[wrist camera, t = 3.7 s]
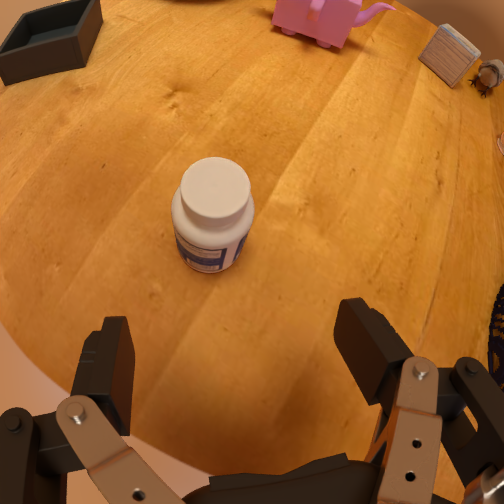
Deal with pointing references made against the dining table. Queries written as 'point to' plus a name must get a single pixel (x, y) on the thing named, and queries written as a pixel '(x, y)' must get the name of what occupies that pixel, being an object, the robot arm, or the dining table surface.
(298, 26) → the teapot
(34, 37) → the tub
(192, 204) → the pill bottle
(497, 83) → the decorative bird
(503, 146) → the cup
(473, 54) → the medicine box
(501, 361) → the patterned openwork dome
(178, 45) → the dining table surface
